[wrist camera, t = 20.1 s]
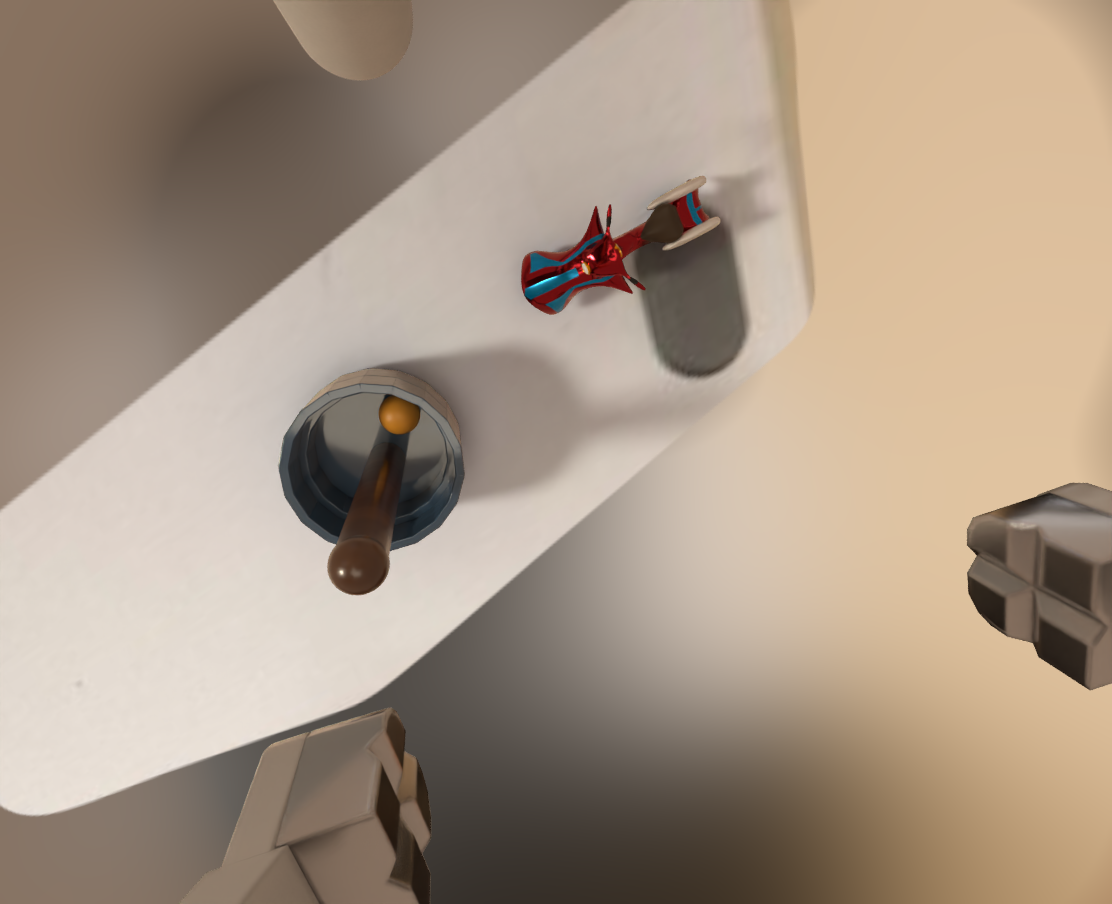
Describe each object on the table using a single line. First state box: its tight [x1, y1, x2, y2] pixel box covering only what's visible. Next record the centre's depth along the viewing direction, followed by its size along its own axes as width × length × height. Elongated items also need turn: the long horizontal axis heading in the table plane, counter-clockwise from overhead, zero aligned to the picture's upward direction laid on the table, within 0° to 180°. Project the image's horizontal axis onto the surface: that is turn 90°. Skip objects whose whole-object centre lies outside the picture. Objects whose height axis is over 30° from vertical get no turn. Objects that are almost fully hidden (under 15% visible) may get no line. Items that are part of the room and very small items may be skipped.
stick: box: [327, 443, 405, 595], centre depth 30 cm, size 2×2×15 cm
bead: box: [379, 395, 420, 434], centre depth 36 cm, size 2×2×2 cm
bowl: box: [278, 368, 465, 551], centre depth 35 cm, size 10×10×6 cm
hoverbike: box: [521, 176, 721, 315], centre depth 34 cm, size 5×12×6 cm, turn 116°
